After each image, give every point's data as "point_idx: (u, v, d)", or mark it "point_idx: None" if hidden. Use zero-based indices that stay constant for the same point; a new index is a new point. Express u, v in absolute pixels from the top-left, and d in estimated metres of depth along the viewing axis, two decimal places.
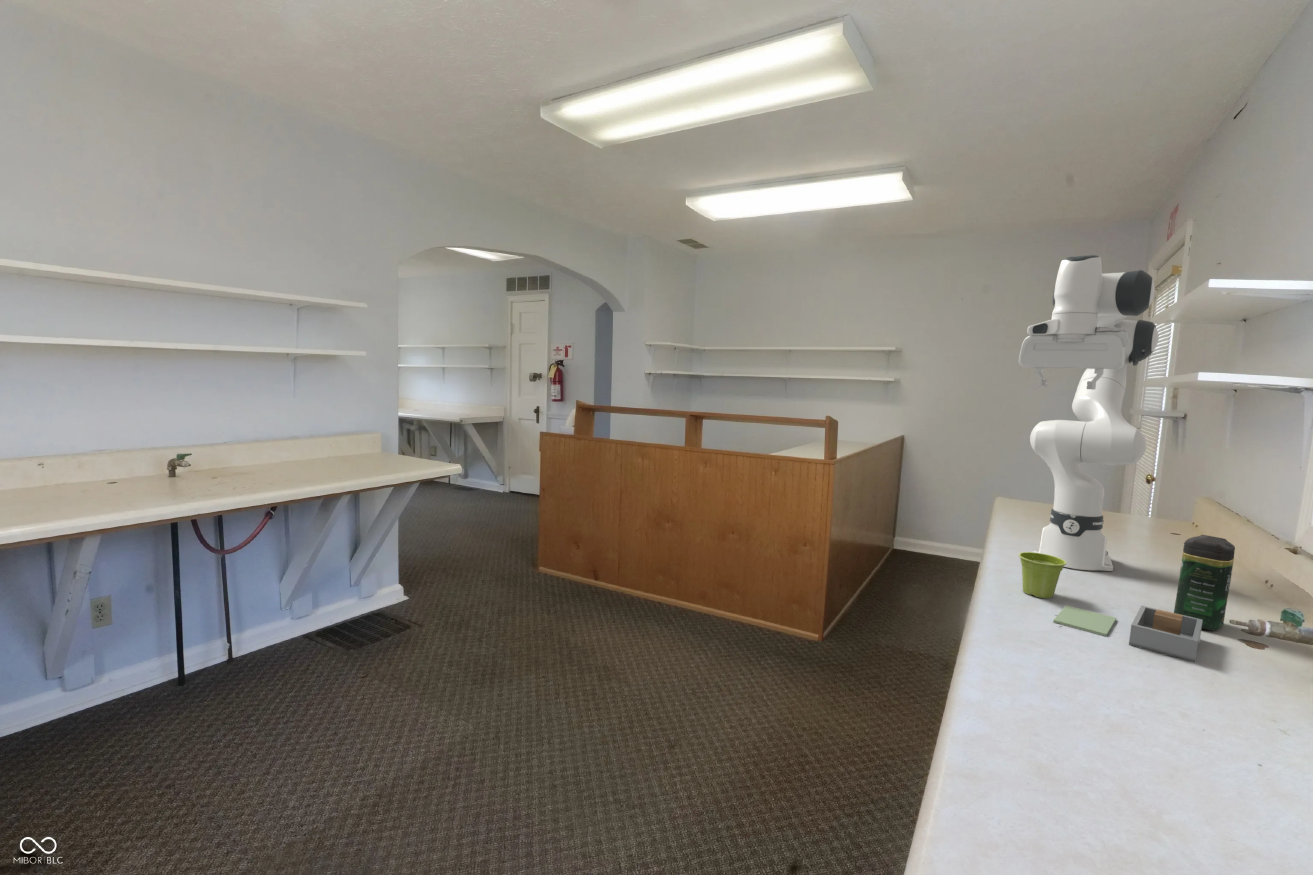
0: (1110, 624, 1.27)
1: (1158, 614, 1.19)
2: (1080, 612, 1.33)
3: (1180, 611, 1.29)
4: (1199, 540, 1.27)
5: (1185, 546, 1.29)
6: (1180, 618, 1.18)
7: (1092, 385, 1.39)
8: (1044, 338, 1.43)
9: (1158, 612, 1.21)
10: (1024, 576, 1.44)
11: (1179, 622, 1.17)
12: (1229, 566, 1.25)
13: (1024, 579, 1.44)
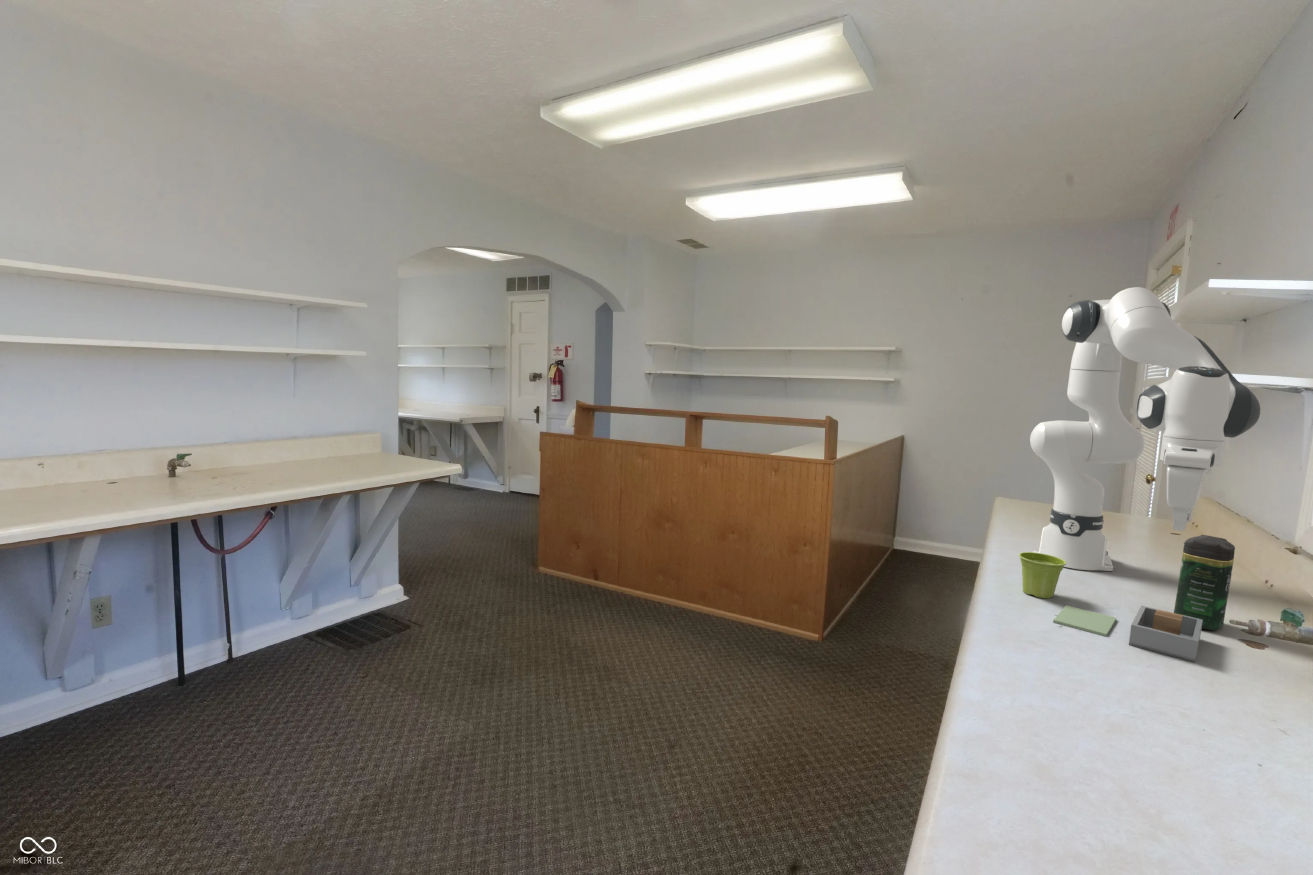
0: (1110, 624, 1.27)
1: (1158, 614, 1.19)
2: (1080, 612, 1.33)
3: (1180, 611, 1.29)
4: (1199, 540, 1.27)
5: (1185, 546, 1.29)
6: (1180, 618, 1.18)
7: (1189, 518, 1.21)
8: (1206, 471, 1.11)
9: (1158, 612, 1.21)
10: (1024, 576, 1.44)
11: (1179, 622, 1.17)
12: (1229, 566, 1.25)
13: (1024, 579, 1.44)
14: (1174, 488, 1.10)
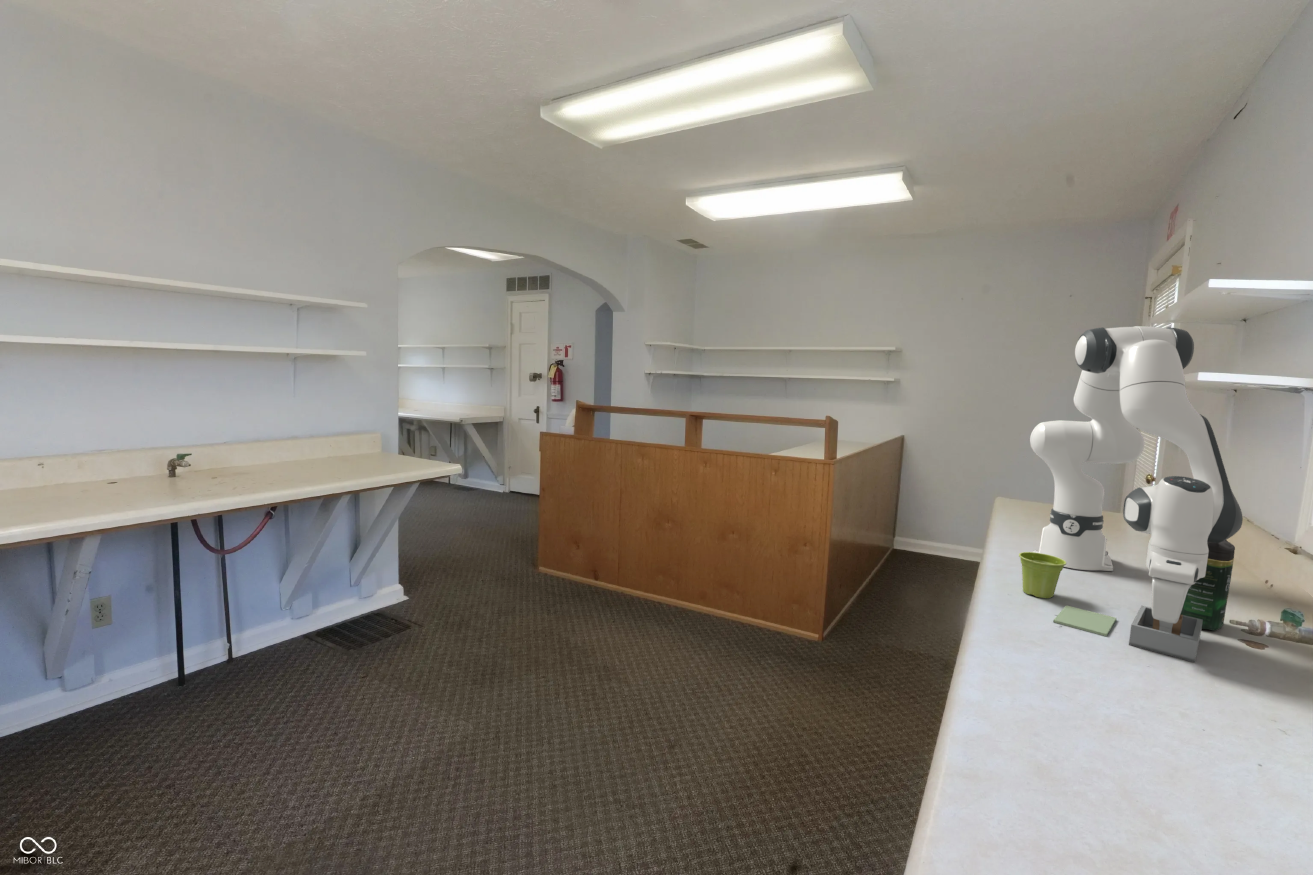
0: (1110, 624, 1.27)
1: None
2: (1080, 612, 1.33)
3: None
4: None
5: None
6: (1180, 618, 1.18)
7: None
8: (1190, 585, 1.13)
9: None
10: (1024, 576, 1.44)
11: (1179, 622, 1.17)
12: (1229, 566, 1.25)
13: (1024, 579, 1.44)
14: (1158, 601, 1.13)
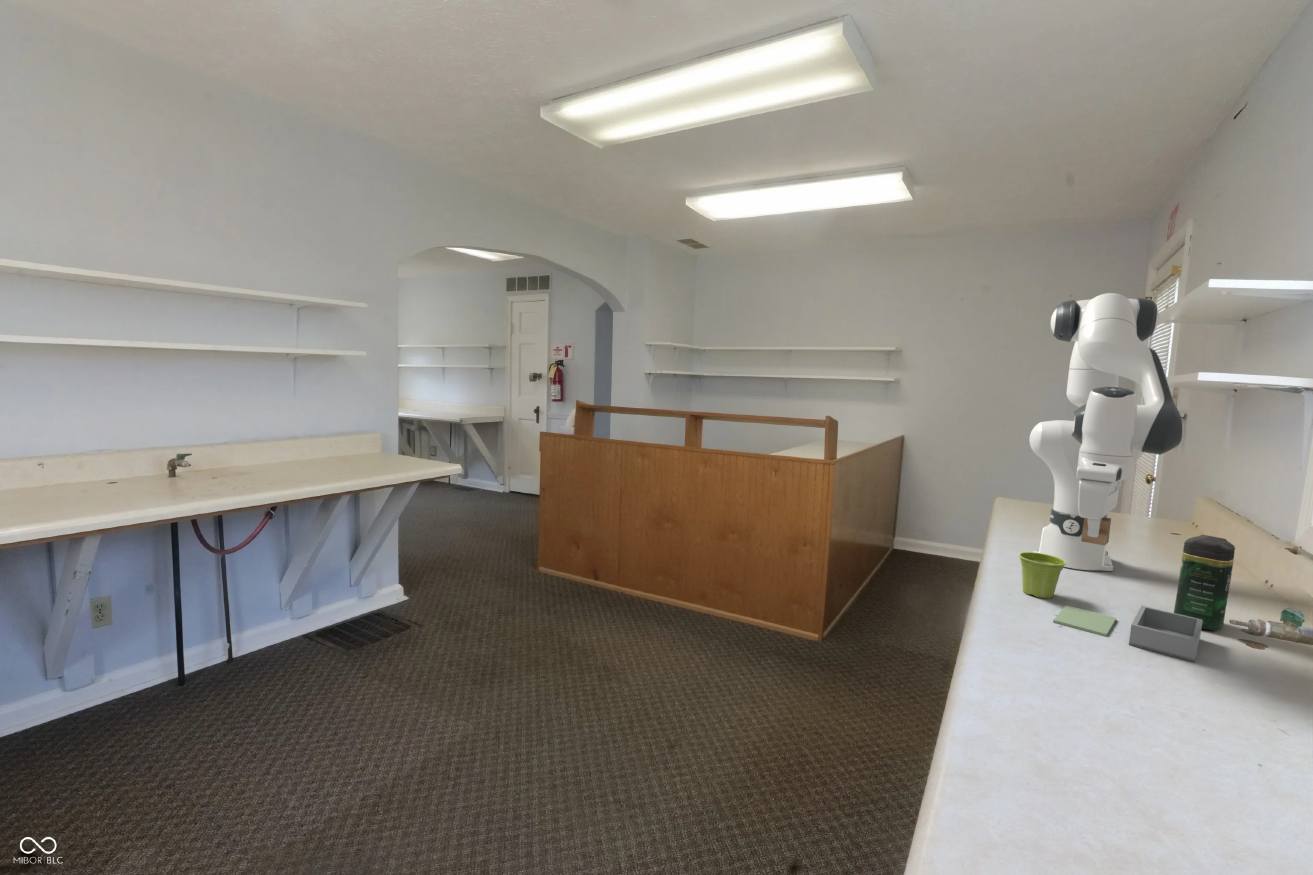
0: (1110, 624, 1.27)
1: None
2: (1080, 612, 1.33)
3: (1180, 611, 1.29)
4: (1199, 540, 1.27)
5: (1185, 546, 1.29)
6: (1107, 520, 1.25)
7: None
8: (1114, 485, 1.20)
9: None
10: (1024, 576, 1.44)
11: (1106, 523, 1.24)
12: (1229, 566, 1.25)
13: (1024, 579, 1.44)
14: (1084, 500, 1.20)
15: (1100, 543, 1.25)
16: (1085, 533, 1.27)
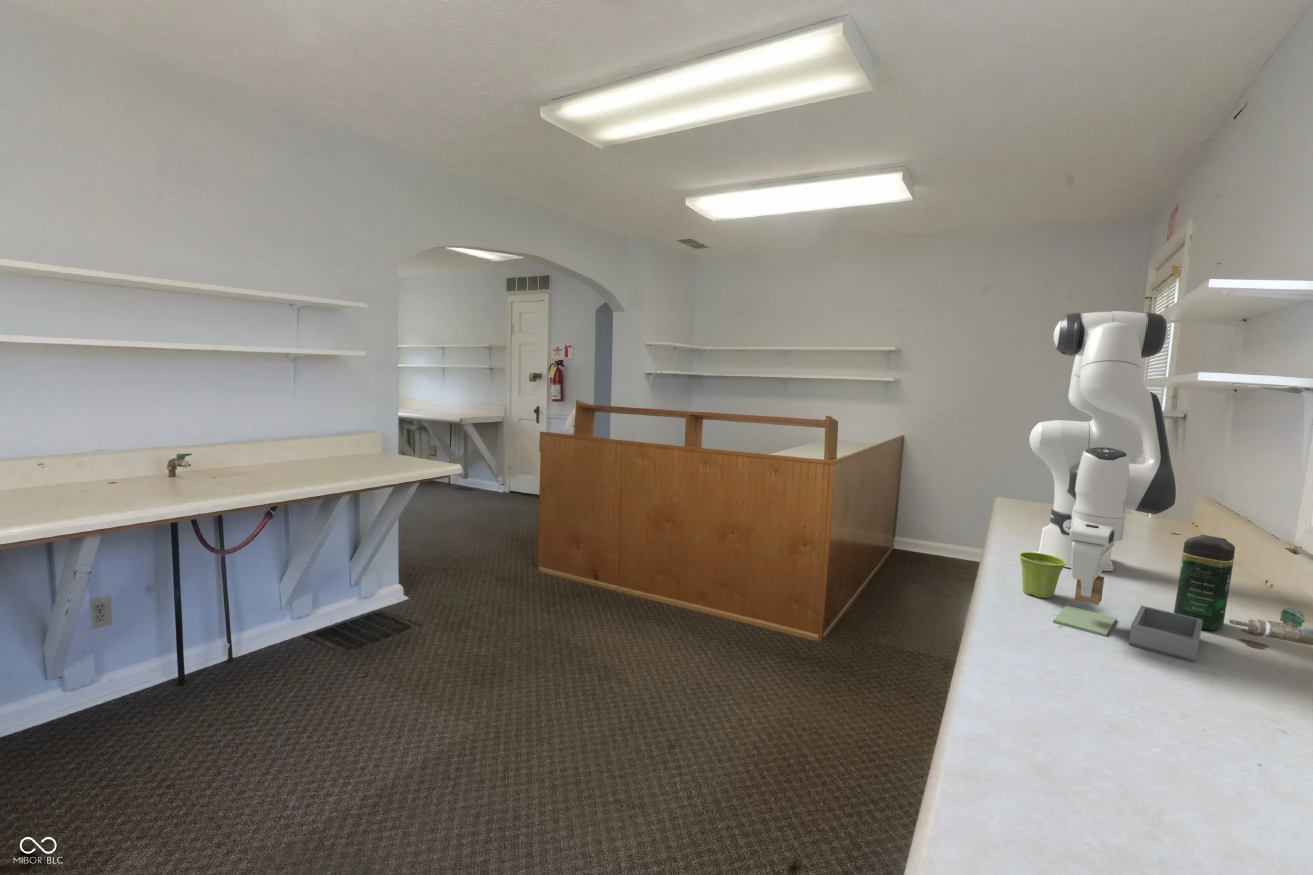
0: (1110, 624, 1.27)
1: None
2: (1080, 612, 1.33)
3: (1180, 611, 1.29)
4: (1199, 540, 1.27)
5: (1185, 546, 1.29)
6: (1100, 579, 1.26)
7: None
8: (1107, 546, 1.22)
9: None
10: (1024, 576, 1.44)
11: (1099, 582, 1.25)
12: (1229, 566, 1.25)
13: (1024, 579, 1.44)
14: (1077, 562, 1.21)
15: (1093, 602, 1.26)
16: (1078, 592, 1.28)
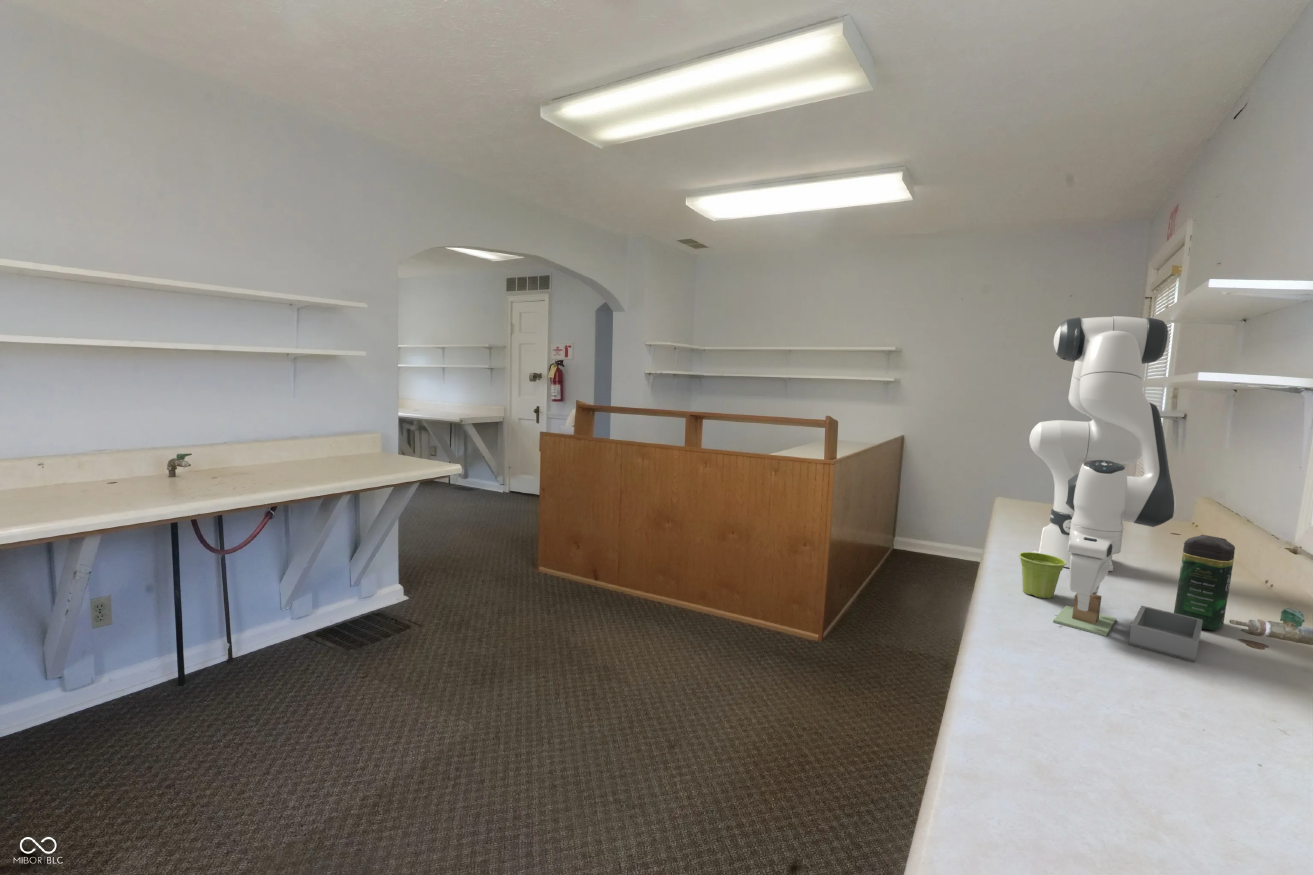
0: (1110, 624, 1.27)
1: None
2: None
3: (1180, 611, 1.29)
4: (1199, 540, 1.27)
5: (1185, 546, 1.29)
6: (1098, 598, 1.27)
7: None
8: (1105, 560, 1.22)
9: None
10: (1024, 576, 1.44)
11: (1096, 602, 1.26)
12: (1229, 566, 1.25)
13: (1024, 579, 1.44)
14: (1075, 575, 1.22)
15: (1090, 621, 1.27)
16: (1075, 611, 1.29)
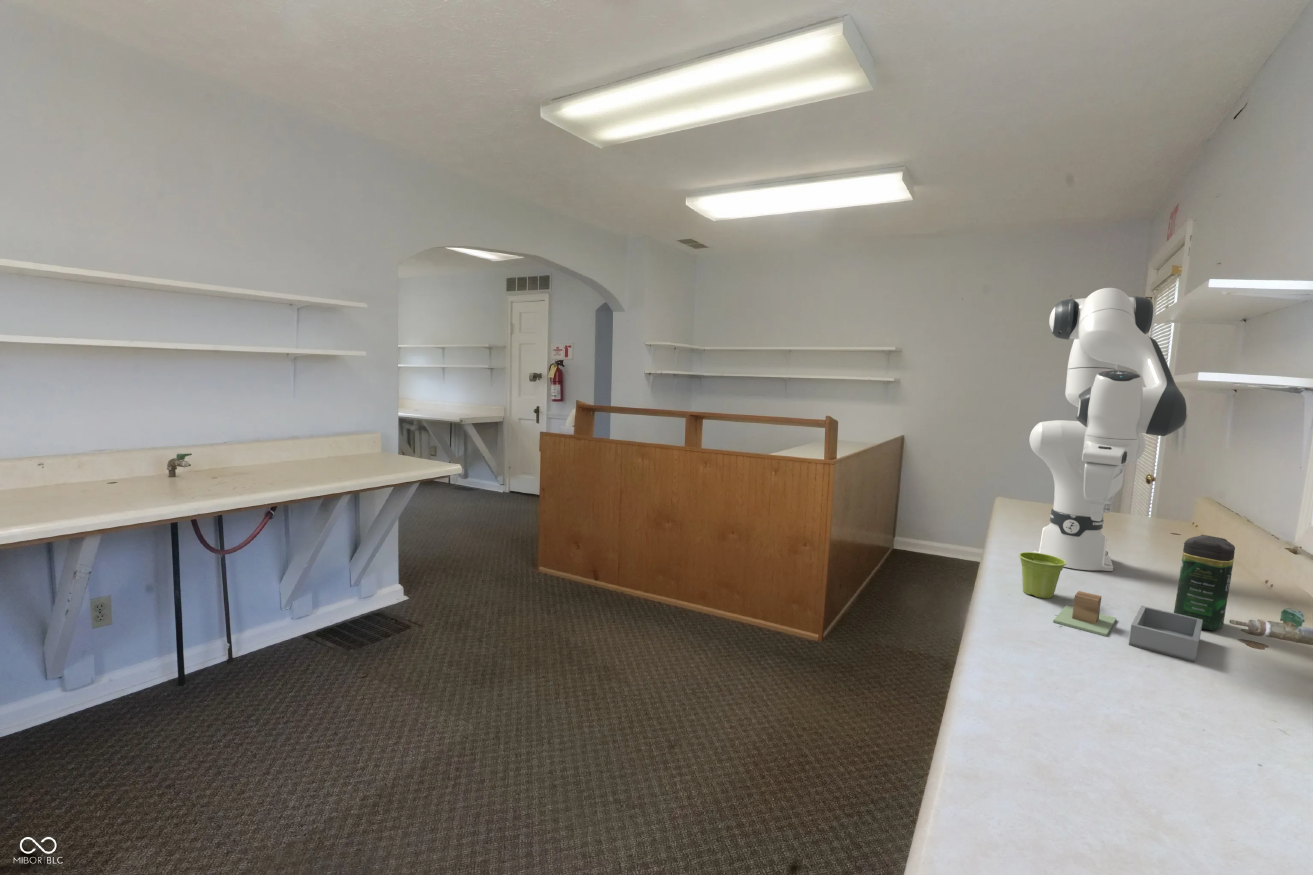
0: (1110, 624, 1.27)
1: (1078, 595, 1.28)
2: None
3: (1180, 611, 1.29)
4: (1199, 540, 1.27)
5: (1185, 546, 1.29)
6: (1098, 598, 1.27)
7: (1110, 508, 1.32)
8: (1120, 467, 1.22)
9: (1079, 593, 1.30)
10: (1024, 576, 1.44)
11: (1096, 602, 1.26)
12: (1229, 566, 1.25)
13: (1024, 579, 1.44)
14: (1089, 483, 1.21)
15: (1090, 621, 1.27)
16: (1075, 611, 1.29)
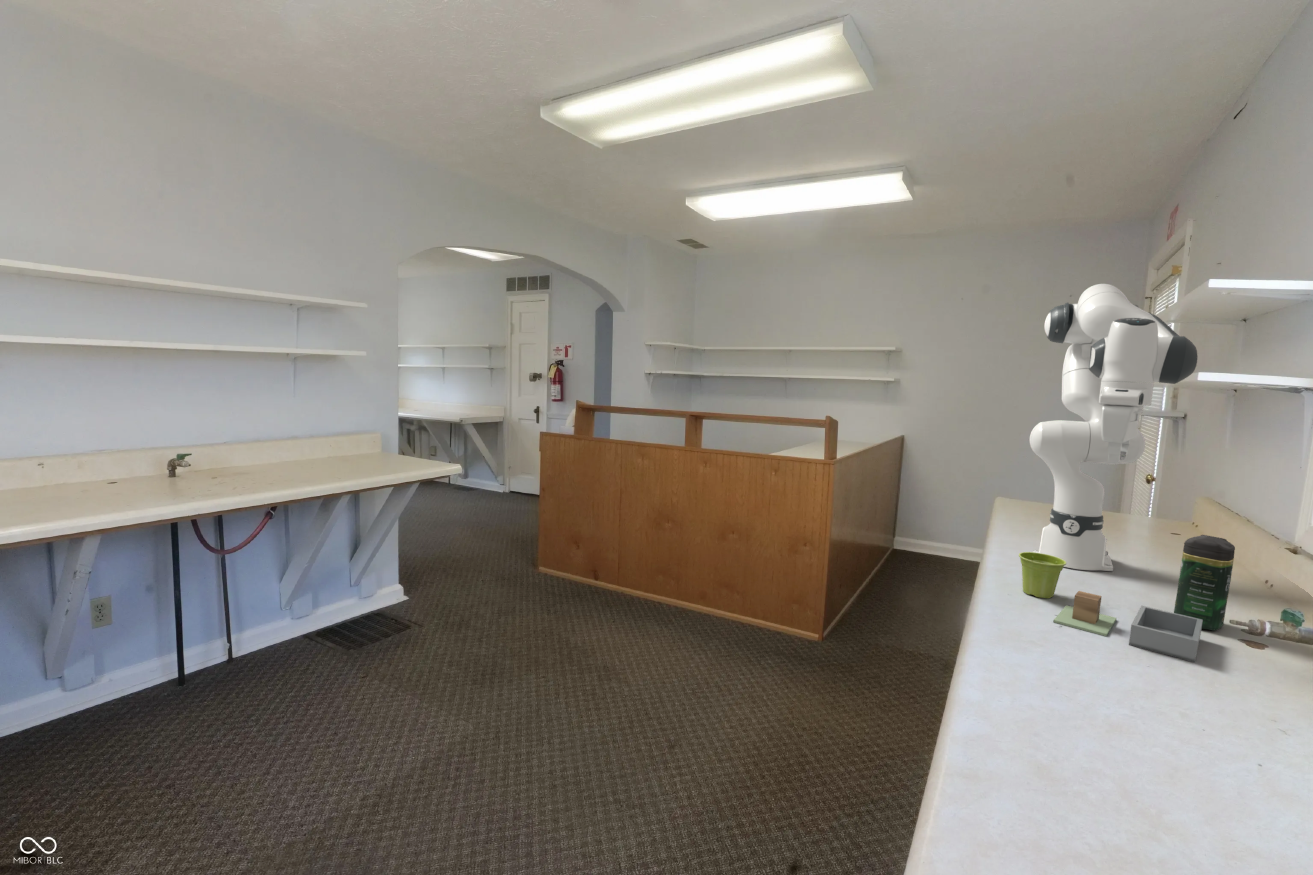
0: (1110, 624, 1.27)
1: (1078, 595, 1.28)
2: None
3: (1180, 611, 1.29)
4: (1199, 540, 1.27)
5: (1185, 546, 1.29)
6: (1098, 598, 1.27)
7: (1126, 455, 1.34)
8: (1137, 410, 1.25)
9: (1079, 593, 1.30)
10: (1024, 576, 1.44)
11: (1096, 602, 1.26)
12: (1229, 566, 1.25)
13: (1024, 579, 1.44)
14: (1107, 424, 1.24)
15: (1090, 621, 1.27)
16: (1075, 611, 1.29)
